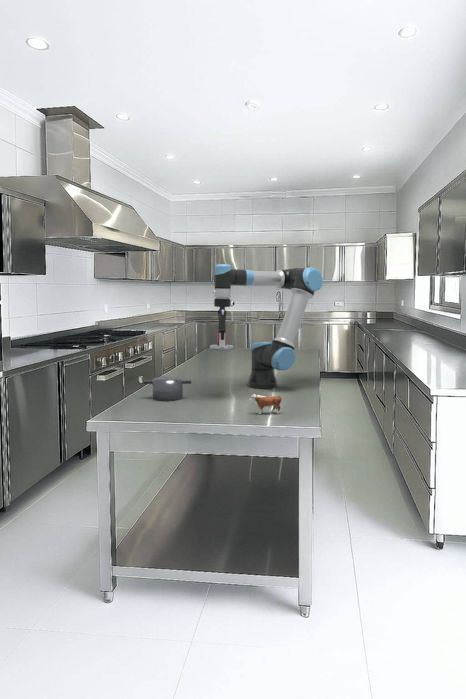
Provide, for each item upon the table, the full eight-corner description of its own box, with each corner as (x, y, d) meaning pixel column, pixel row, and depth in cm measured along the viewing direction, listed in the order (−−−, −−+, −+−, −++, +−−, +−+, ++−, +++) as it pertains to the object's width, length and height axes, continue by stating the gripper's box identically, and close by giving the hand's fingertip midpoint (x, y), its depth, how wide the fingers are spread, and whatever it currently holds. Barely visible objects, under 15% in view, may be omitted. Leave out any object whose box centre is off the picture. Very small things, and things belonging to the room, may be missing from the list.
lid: (233, 347, 263) (233, 331, 262) (233, 350, 252) (234, 333, 251) (210, 347, 263) (210, 330, 262) (209, 350, 252) (209, 332, 251)
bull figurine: (248, 412, 230) (248, 393, 229) (280, 411, 231) (280, 392, 230) (249, 415, 226) (250, 395, 225) (282, 414, 227) (282, 394, 226)
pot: (191, 394, 265) (191, 376, 264) (190, 401, 252) (190, 381, 250) (145, 395, 265) (145, 376, 263) (142, 401, 251) (141, 381, 250)
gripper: (213, 297, 266) (213, 342, 269) (214, 298, 243) (214, 348, 246) (229, 297, 267) (228, 343, 269) (231, 298, 244) (231, 348, 246)
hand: (221, 345), depth 257 cm, fingers closed on lid, 11 cm apart
